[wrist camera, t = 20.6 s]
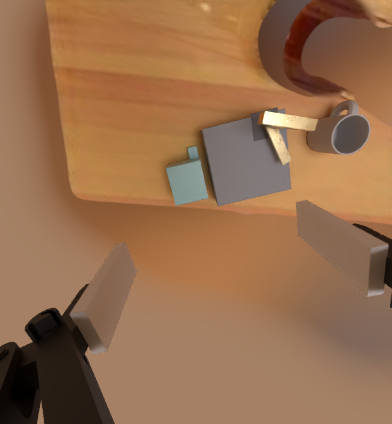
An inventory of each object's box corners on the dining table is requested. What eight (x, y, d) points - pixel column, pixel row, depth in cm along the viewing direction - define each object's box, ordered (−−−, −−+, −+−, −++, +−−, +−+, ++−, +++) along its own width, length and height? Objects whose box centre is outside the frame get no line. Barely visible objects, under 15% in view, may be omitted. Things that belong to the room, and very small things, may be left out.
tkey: (238, 158, 42) (253, 164, 32) (246, 116, 39) (265, 110, 30) (284, 164, 42) (312, 172, 33) (295, 124, 40) (328, 120, 30)
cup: (301, 148, 48) (325, 151, 39) (316, 100, 44) (346, 92, 36) (330, 154, 48) (360, 158, 40) (347, 107, 45) (384, 100, 37)
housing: (199, 127, 45) (201, 126, 39) (272, 109, 45) (285, 105, 39) (214, 198, 51) (218, 206, 45) (279, 183, 50) (291, 189, 44)
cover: (165, 152, 47) (162, 155, 40) (196, 145, 46) (197, 147, 40) (177, 196, 50) (175, 205, 44) (205, 190, 50) (208, 198, 44)
